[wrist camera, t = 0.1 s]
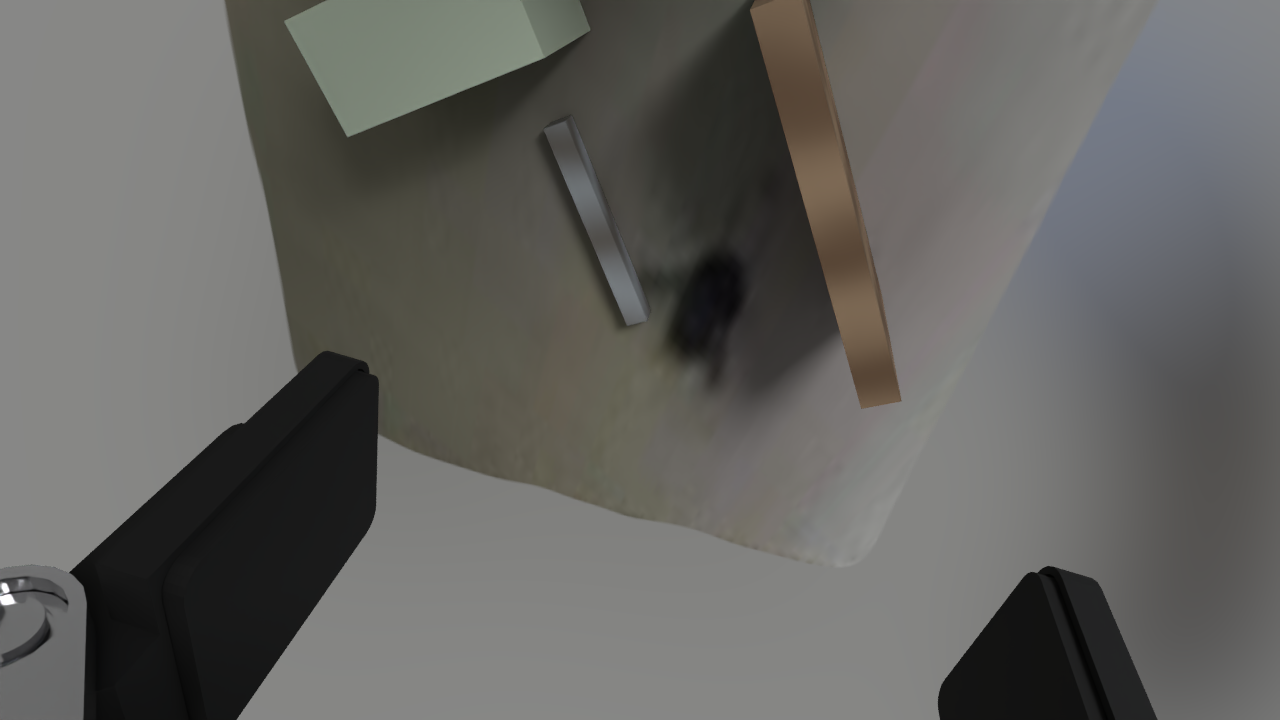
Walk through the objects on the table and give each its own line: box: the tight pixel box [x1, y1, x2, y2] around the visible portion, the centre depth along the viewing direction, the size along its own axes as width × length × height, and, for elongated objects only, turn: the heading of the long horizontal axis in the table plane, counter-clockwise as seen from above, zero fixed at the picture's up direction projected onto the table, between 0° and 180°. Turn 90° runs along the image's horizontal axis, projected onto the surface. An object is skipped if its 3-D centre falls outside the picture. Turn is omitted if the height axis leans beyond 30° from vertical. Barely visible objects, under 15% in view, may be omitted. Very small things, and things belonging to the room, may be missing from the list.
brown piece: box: [543, 0, 901, 409], centre depth 41 cm, size 20×16×12 cm
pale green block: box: [284, 0, 591, 137], centre depth 40 cm, size 6×13×9 cm, turn 111°
